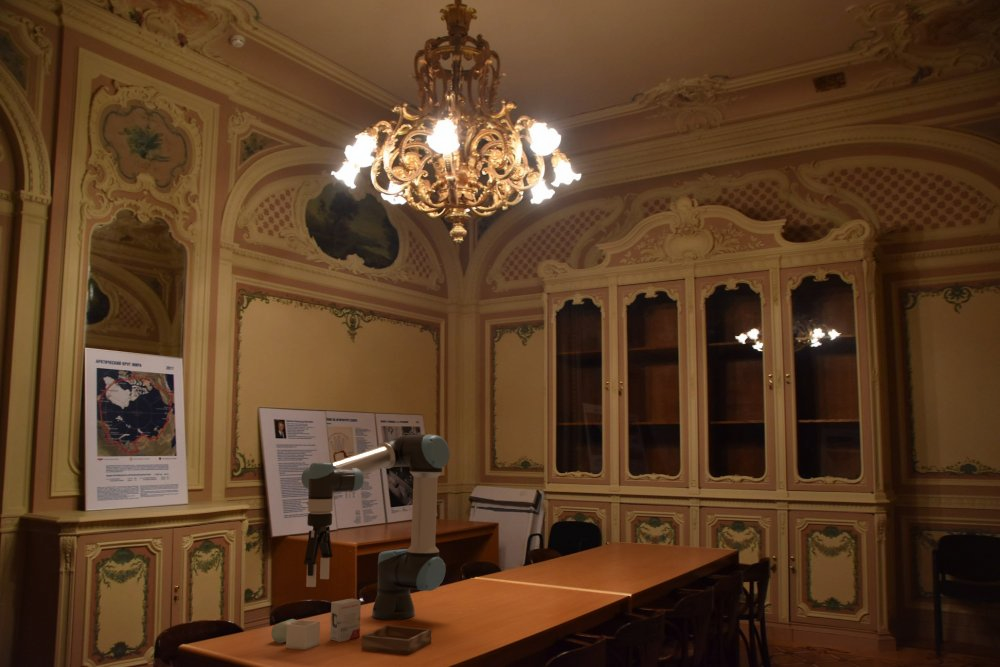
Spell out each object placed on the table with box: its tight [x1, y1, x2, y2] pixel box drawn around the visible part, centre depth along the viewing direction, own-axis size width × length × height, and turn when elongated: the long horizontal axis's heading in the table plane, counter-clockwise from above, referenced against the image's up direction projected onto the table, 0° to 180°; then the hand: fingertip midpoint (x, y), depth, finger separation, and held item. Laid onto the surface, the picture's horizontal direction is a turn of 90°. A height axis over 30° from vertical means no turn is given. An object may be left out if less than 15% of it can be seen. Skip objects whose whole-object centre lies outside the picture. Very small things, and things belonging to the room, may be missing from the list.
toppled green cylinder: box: [271, 618, 298, 644], centre depth 263 cm, size 7×6×6 cm
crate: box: [361, 625, 432, 656], centre depth 256 cm, size 15×16×4 cm
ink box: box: [329, 597, 362, 643], centre depth 266 cm, size 9×5×12 cm, turn 137°
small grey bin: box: [285, 619, 321, 651], centre depth 256 cm, size 7×7×7 cm
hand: (317, 582), depth 255 cm, fingers open, 13 cm apart
